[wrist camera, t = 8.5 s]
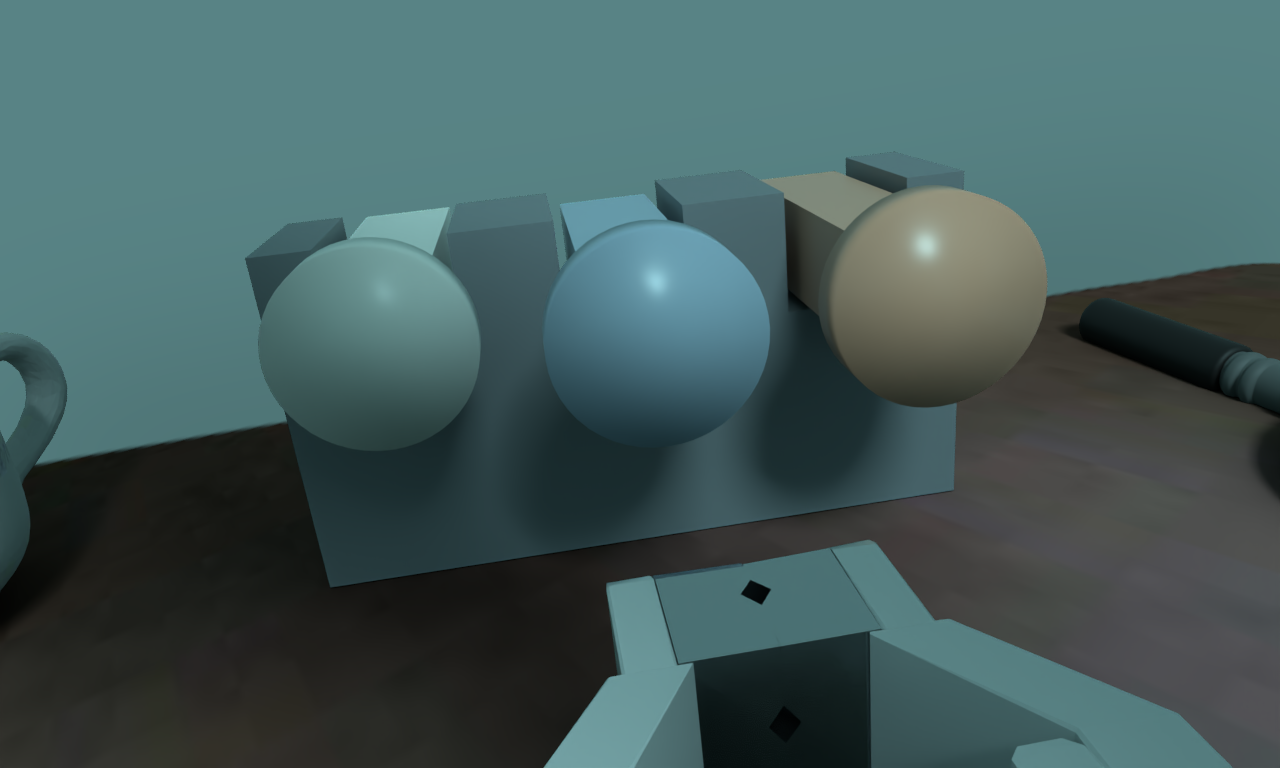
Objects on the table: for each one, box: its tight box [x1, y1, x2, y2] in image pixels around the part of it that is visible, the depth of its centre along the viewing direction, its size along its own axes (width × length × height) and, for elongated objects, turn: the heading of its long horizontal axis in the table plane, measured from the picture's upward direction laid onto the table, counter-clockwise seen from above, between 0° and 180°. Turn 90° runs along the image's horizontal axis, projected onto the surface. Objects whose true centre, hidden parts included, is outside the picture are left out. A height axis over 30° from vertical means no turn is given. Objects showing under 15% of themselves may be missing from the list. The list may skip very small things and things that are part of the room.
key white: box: [258, 207, 481, 451], centre depth 26 cm, size 5×11×5 cm, turn 8°
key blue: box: [542, 194, 770, 448], centre depth 25 cm, size 5×11×5 cm, turn 8°
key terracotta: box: [761, 171, 1047, 408], centre depth 26 cm, size 5×11×5 cm, turn 8°
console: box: [245, 152, 964, 588], centre depth 29 cm, size 20×5×10 cm, turn 98°
